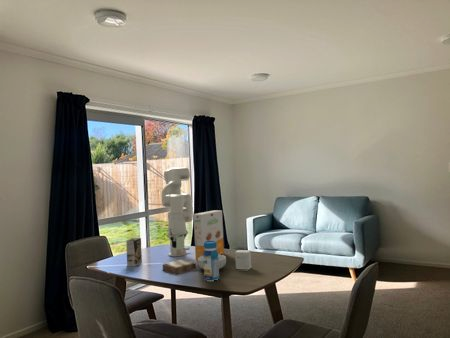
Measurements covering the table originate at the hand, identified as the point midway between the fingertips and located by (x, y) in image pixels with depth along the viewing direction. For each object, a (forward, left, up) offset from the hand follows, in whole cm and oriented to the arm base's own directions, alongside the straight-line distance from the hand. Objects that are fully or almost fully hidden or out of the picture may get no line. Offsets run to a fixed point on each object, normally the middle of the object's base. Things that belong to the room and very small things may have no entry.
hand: (178, 246), depth 217 cm
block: (0, 0, -1) cm, 1 cm away
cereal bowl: (-13, +15, -14) cm, 24 cm away
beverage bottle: (0, +30, -14) cm, 33 cm away
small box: (-25, +29, -14) cm, 41 cm away
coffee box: (+11, -34, -14) cm, 39 cm away
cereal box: (-32, -10, -14) cm, 37 cm away
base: (0, 0, -14) cm, 14 cm away
